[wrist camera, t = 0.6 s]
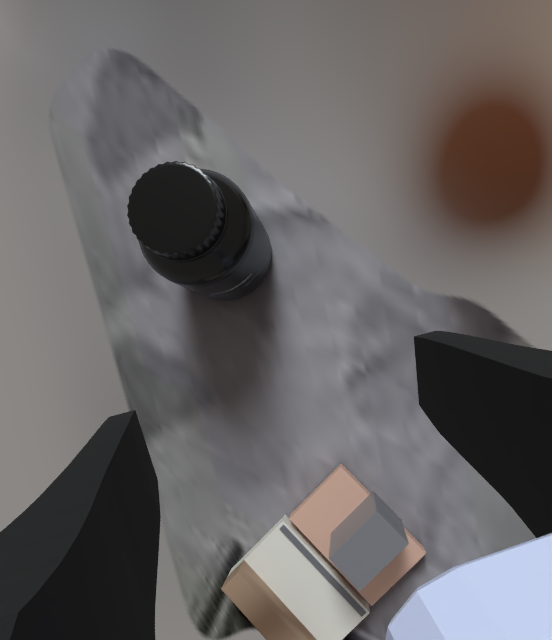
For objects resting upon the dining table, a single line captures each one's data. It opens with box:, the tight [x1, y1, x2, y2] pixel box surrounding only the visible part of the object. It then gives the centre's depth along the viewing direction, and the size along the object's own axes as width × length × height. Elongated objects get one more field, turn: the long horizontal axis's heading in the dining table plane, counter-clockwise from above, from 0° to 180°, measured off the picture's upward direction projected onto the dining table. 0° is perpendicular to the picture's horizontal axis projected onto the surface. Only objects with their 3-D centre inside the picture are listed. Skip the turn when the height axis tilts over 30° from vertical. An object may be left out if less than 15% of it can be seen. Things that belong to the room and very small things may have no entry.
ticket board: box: [221, 515, 370, 640], centre depth 32 cm, size 8×6×3 cm
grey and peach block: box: [289, 464, 426, 606], centre depth 30 cm, size 8×5×5 cm
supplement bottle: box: [127, 161, 271, 300], centre depth 30 cm, size 7×7×12 cm
